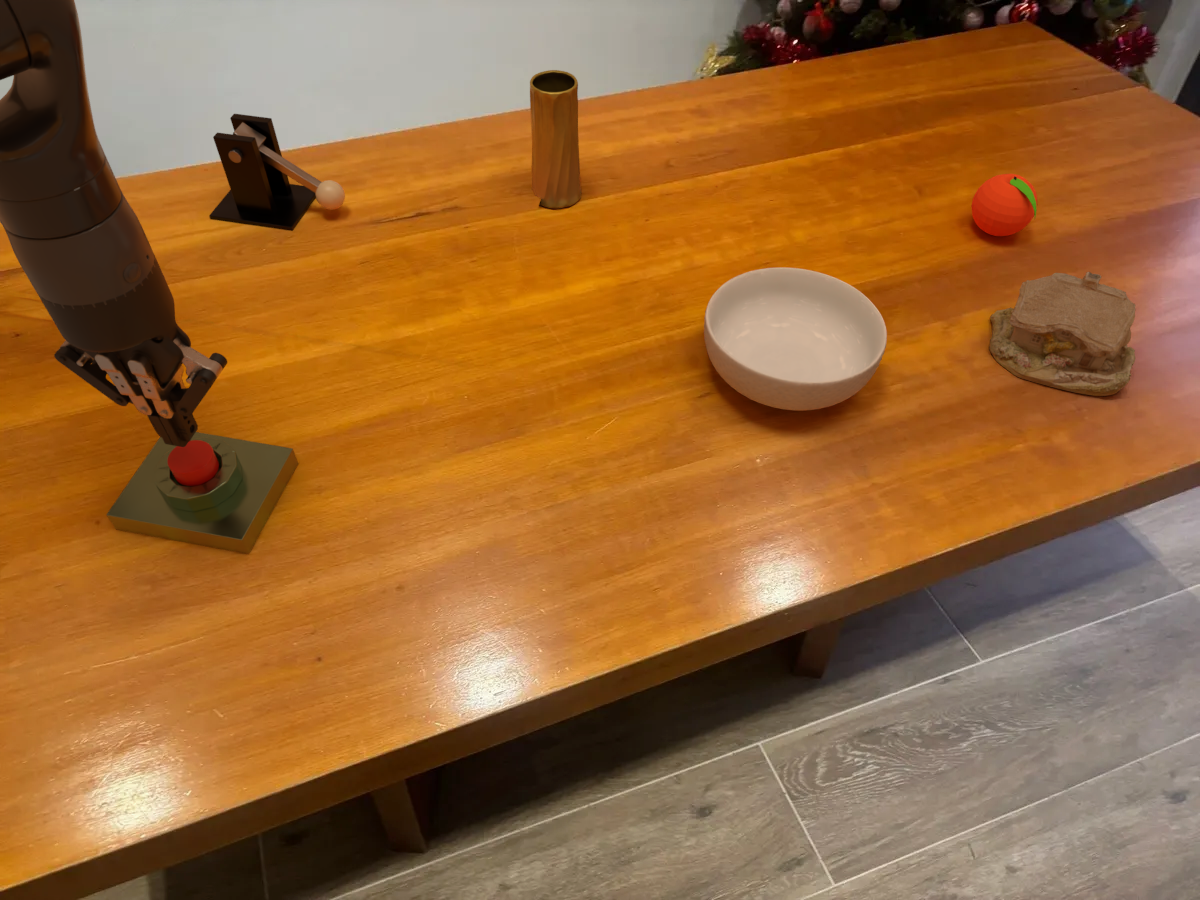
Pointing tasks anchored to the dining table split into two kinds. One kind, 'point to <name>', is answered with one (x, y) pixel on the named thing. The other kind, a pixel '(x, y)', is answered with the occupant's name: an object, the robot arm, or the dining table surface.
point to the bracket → (257, 181)
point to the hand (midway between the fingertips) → (181, 437)
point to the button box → (207, 495)
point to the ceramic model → (1067, 334)
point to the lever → (297, 172)
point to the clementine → (1004, 205)
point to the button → (193, 463)
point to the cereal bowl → (793, 337)
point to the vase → (555, 138)
